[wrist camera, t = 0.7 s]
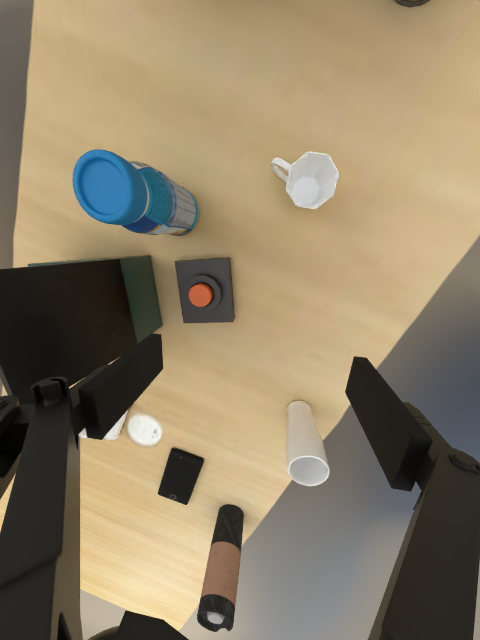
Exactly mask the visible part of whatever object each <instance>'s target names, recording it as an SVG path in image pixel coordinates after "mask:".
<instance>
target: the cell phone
mask: <svg viewBox="0 0 480 640" xmlns="http://www.w3.org/2000/svg"><path fill="white" fill-rule="evenodd" d="M203 461H204V460H203V459H202V458H200V457H197V456H194V455H192V454H189V453H186V452H184V451H181V450H178V449H175V448H172V449H171V452H170V455H169V458H168V461H167V465H166V468H165V471H164V475H163V478H162V481H161V485H160V488H159V491H158V494H159V495H161V496H163V497H166V498H169V499H171V500H174V501H177V502H179V503H182V504H185V505H187V504H188V501H189V499H190V496H191V493H192V491H193V488H194V485H195V483H196V480H197V478H198V475H199V472H200V470H201V467H202V464H203Z"/></svg>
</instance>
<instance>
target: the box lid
mask: <svg viewBox="0 0 480 640" xmlns="http://www.w3.org/2000/svg"><path fill="white" fill-rule="evenodd" d="M137 344H138V343H137V338H136V333H135V329H134V324H133V319H132V315H131V310H130V305H129V301H128V296H127V291H126V287H125V282H124V277H123V273H122V268H121V263H120V259H107V260H96V261H85V262H74V263H64V264H53V265H42V266H31V267H20V268H10V269H0V378H1V380H2V383H3V385H4V387H5V389H6V392H7V394H8V396H11V395H12V396H16V397H17V398H18V401H19V404H20V405H21V404H33V400H32V396H31V393H30V388H31V386H32V385H34V384H35V383H37V382H39V381H41V380H43V379H47V378H50V377H64V378H67V381H68V385H69V387H70V386H71V385H73V384H75V383H76V382H78V381H80V380H82V379H83V378H85V377H87V376H88V375H90V374H91V373H92V372H94V371H95V370H96V369H98V368H100V367H102V366H105V365H107V364H109V363H110V362H112V361H114V360H115V359H117V358H119V357H120V356H122V355H123V354H125V353H126V352H127V351H129V350H130V349H131V348H133V347H134V346H135V345H137Z"/></svg>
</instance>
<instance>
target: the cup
mask: <svg viewBox="0 0 480 640" xmlns="http://www.w3.org/2000/svg"><path fill="white" fill-rule="evenodd" d="M276 165H278V166H280V167H282V168H283V169H284V170H286V171H287V172H288V173H289V174H288V177H287V176H286V175H285V174H284V173H283V172H282V171H281V170H280V169H279V168H278V167H277V166H276ZM270 167H271V169H272V170H273V171H274V172H275V173H276V174H277V175H278V176H279V177H280V178H281V179H282V180H283V181H284V182H285V183H286V188H285V189H286V191H287V192H288V194H289V196H290V198H291V199H292V201H293V203H294V204H295V206H297V207H303V208H309V209H316V208H318V207H319V206H320V205H322V204H323V203H324V202H326V201H327V200H329V199H330V198H331V197H333V195H334V192H335V188H336V184H337V180H338V176H339V172H338V170H337V168H336V166H335V164H334V163H333V161H332V159H331V157H330V155H329V154H324V153H317V152H310V151H308V152H307V153H305V154H304V155H303V156H302V157H300V158H299V159H298V160H297V161H296V162H294V163H293V164H292V165H290V164H289V163H287V162H286V161H284V160H282V159H280V158H276V157H275V158H274V159H273V161H272V162H271V164H270Z"/></svg>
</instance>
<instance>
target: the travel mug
mask: <svg viewBox="0 0 480 640" xmlns="http://www.w3.org/2000/svg"><path fill="white" fill-rule="evenodd" d="M243 518H244V515H243V512H242V510H241V509H240V508H238V507H237V506H234V505H224V506H222V507H221V508H220V509H219V512H218V516H217V521H216V525H215V530H214V534H213V538H212V543H211V547H210V552H209V557H208V563H207V568H206V573H205V578H204V583H203V588H202V593H201V599H200V604H199V609H198V614H197V620H198V622H199V623H200V625H201V626H203V627H204V628H206V629H208V630H210V631H213V632H217V631H218V630H219V629H221V628H226V629H227V630H228V631H230V630H231V629H232V627H233V622H234V613H235V602H236V594H237V584H238V576H239V567H240V557H241V545H242V532H243Z"/></svg>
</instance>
